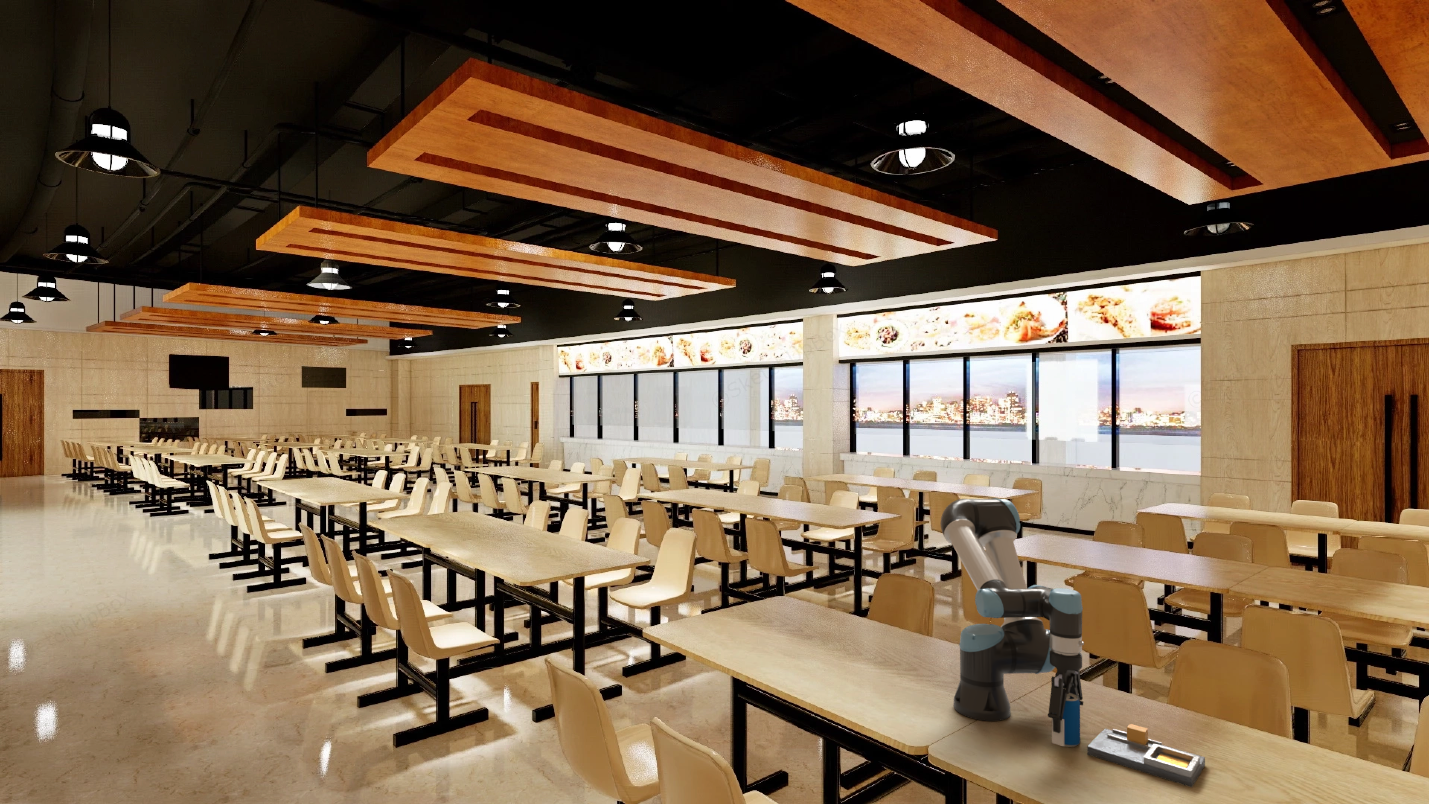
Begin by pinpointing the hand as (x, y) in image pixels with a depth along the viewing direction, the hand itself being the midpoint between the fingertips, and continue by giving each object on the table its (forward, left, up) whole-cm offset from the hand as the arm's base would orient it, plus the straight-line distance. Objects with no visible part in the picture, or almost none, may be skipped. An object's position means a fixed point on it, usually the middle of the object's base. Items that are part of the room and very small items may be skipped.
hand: (1066, 736), depth 184 cm
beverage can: (0, 0, -2) cm, 2 cm away
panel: (+17, +4, -1) cm, 18 cm away
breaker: (+14, +9, +1) cm, 17 cm away
